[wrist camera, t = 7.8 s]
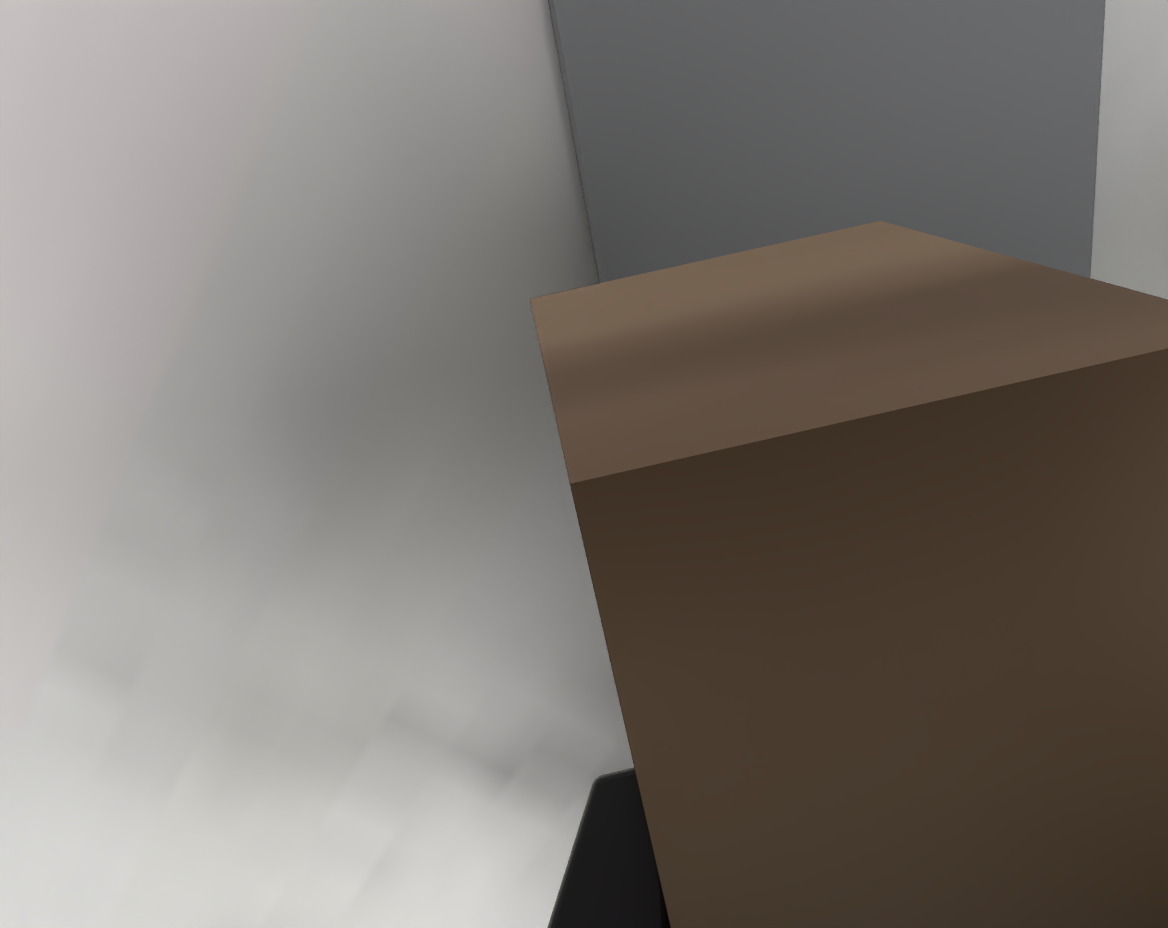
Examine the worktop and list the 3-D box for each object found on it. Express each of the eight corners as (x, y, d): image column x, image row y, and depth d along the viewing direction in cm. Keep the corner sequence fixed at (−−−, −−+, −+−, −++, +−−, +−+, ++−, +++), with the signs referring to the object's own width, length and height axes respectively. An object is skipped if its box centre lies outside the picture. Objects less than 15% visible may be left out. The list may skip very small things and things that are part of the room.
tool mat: (1083, -195, 14) (1116, -209, 14) (1040, 833, 24) (1058, 857, 23) (532, -84, 14) (537, -93, 13) (714, 915, 24) (722, 942, 23)
